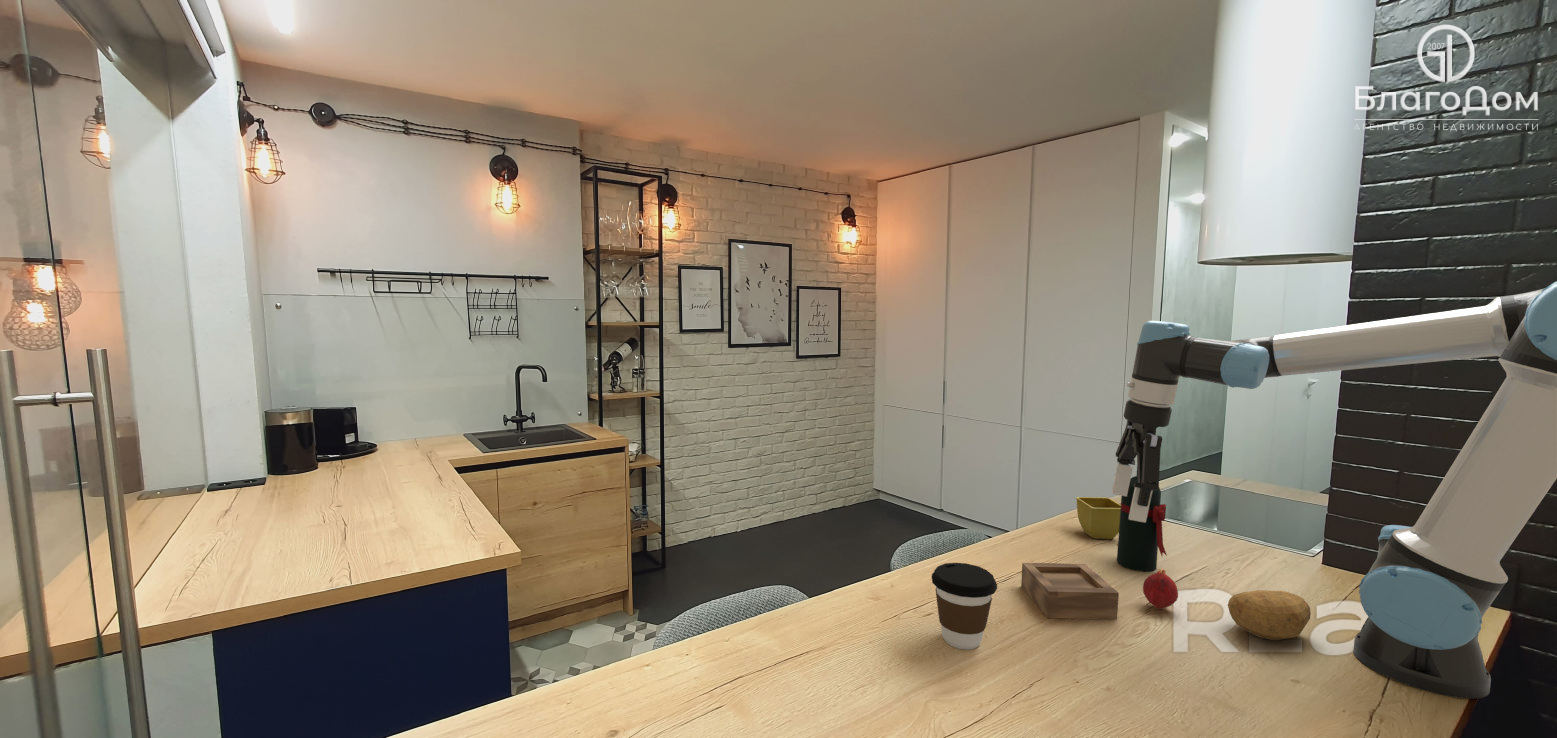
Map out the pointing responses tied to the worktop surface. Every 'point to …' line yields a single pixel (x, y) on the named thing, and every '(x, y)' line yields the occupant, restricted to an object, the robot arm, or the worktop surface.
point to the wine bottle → (1140, 533)
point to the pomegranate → (1160, 590)
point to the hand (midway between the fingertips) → (1127, 506)
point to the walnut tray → (1069, 591)
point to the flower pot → (1099, 516)
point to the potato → (1270, 613)
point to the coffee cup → (963, 602)
